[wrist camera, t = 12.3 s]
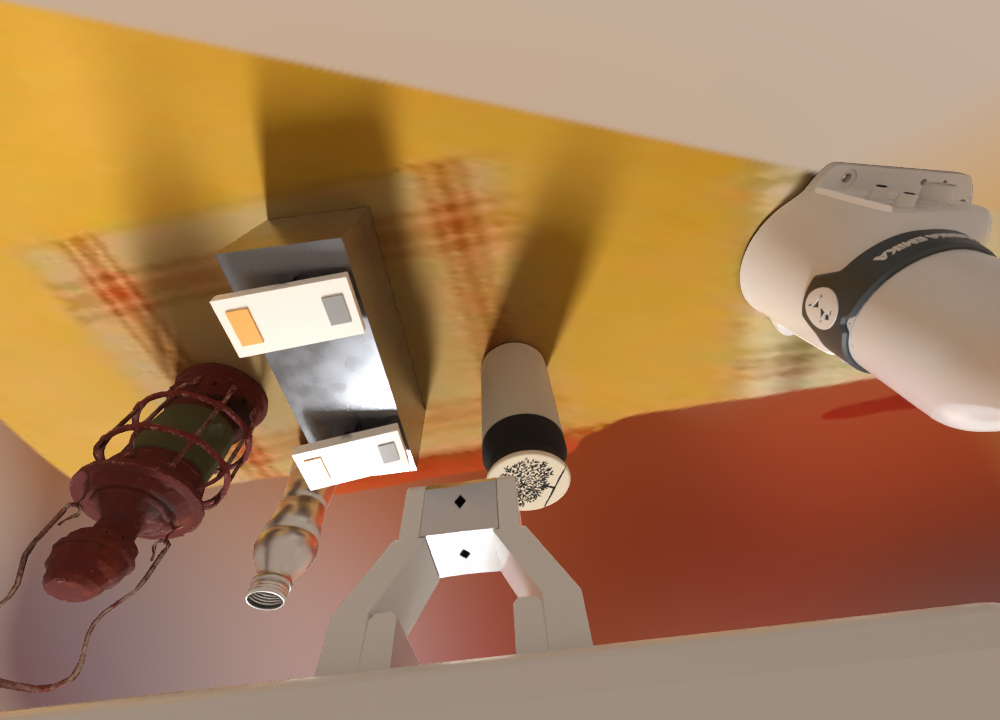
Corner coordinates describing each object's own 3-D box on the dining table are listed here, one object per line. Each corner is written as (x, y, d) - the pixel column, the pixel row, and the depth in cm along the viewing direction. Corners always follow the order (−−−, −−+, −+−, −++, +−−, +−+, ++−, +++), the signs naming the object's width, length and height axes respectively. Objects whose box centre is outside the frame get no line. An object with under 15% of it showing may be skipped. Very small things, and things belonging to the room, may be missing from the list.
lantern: (150, 397, 52) (-155, 691, 27) (199, 337, 48) (-107, 617, 23) (243, 448, 57) (61, 734, 32) (295, 397, 53) (132, 680, 28)
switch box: (368, 206, 41) (338, 241, 32) (425, 411, 55) (415, 477, 46) (264, 220, 41) (203, 259, 32) (347, 421, 55) (322, 488, 46)
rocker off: (397, 422, 42) (397, 431, 41) (408, 457, 45) (409, 467, 44) (294, 446, 41) (291, 456, 40) (312, 481, 44) (310, 491, 43)
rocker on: (347, 271, 34) (345, 277, 32) (365, 326, 36) (364, 334, 35) (215, 295, 32) (208, 302, 31) (244, 350, 35) (239, 359, 34)
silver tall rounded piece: (289, 443, 57) (212, 592, 40) (334, 429, 56) (274, 576, 39) (316, 474, 60) (255, 623, 44) (359, 461, 59) (313, 608, 43)
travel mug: (470, 382, 53) (469, 501, 38) (497, 331, 49) (506, 440, 34) (527, 402, 55) (546, 521, 40) (556, 354, 51) (590, 466, 36)
